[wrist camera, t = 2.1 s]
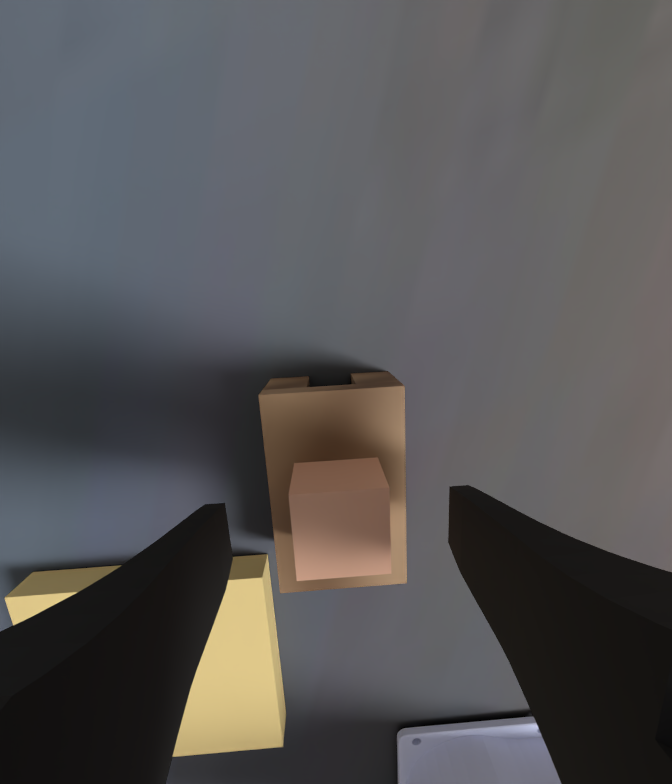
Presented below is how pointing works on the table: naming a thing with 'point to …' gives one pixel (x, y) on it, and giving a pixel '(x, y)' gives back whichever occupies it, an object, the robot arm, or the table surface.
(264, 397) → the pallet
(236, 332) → the table surface
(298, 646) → the table surface
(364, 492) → the salmon pink square block
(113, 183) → the table surface
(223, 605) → the plate
